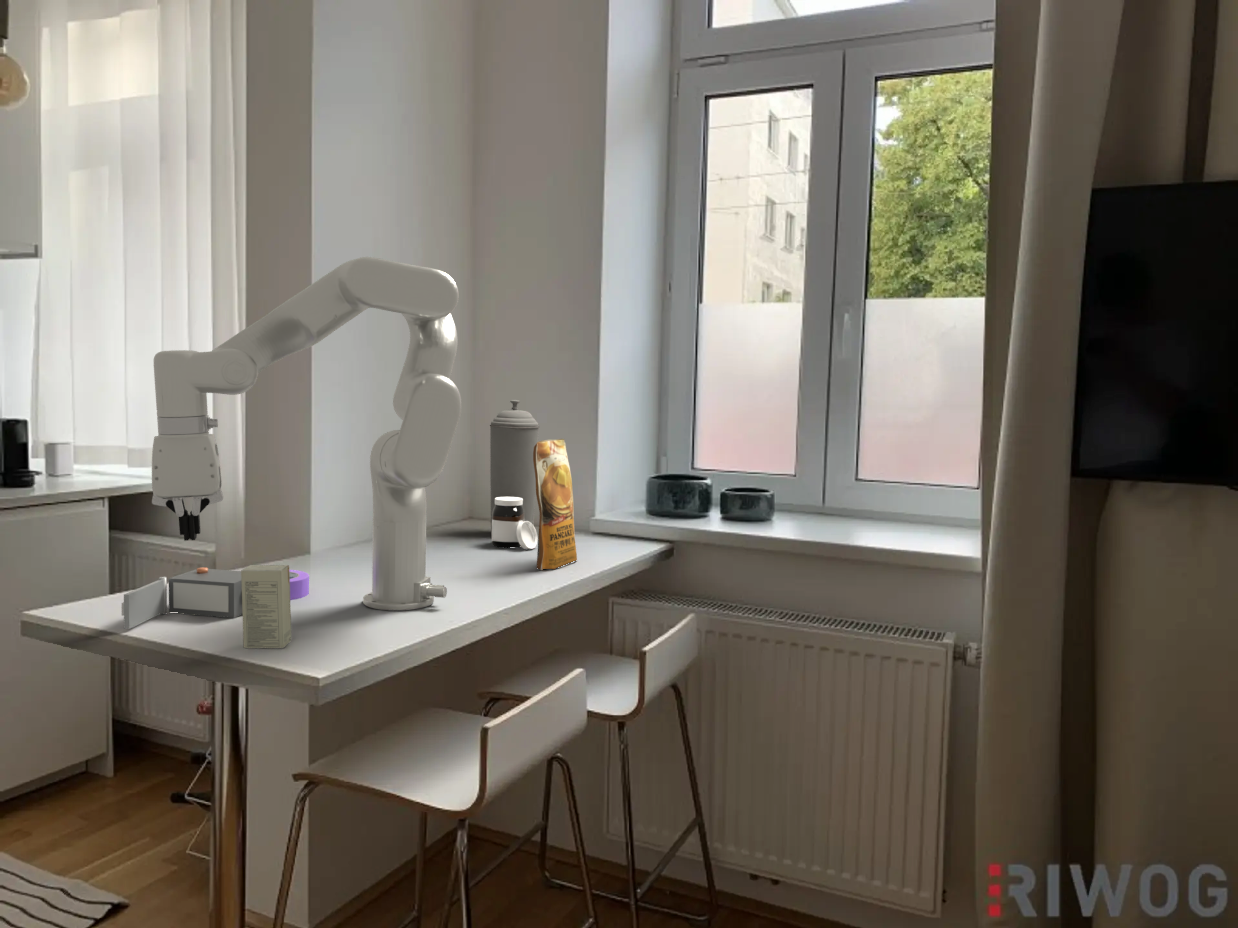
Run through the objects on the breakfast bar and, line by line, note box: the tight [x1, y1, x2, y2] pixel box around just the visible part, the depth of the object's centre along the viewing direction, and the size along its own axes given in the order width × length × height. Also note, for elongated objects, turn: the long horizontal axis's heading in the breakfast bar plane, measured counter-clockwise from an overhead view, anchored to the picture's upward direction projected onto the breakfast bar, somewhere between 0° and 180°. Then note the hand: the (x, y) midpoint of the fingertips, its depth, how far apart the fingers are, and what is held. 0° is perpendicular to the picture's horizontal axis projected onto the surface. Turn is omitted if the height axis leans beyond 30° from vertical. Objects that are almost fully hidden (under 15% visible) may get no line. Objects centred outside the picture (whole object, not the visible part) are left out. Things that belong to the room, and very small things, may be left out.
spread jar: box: [491, 497, 538, 550], centre depth 241 cm, size 12×11×12 cm
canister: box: [489, 399, 540, 534], centre depth 257 cm, size 13×13×35 cm
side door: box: [121, 576, 168, 630], centre depth 163 cm, size 12×2×6 cm, turn 178°
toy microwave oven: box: [168, 566, 243, 619], centre depth 172 cm, size 13×9×7 cm
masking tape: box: [289, 569, 310, 601], centre depth 185 cm, size 12×12×4 cm
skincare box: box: [240, 564, 292, 649], centre depth 152 cm, size 6×4×12 cm
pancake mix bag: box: [533, 438, 578, 571], centre depth 221 cm, size 7×19×28 cm, turn 156°
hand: (190, 538), depth 163 cm, fingers closed
